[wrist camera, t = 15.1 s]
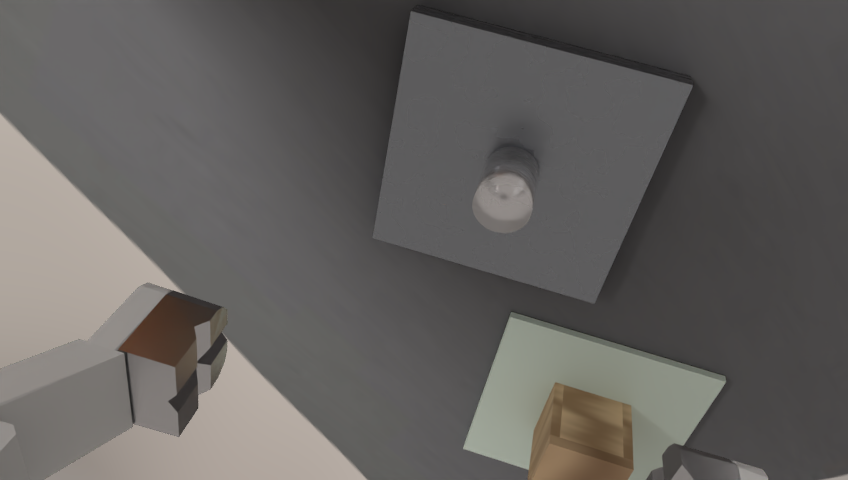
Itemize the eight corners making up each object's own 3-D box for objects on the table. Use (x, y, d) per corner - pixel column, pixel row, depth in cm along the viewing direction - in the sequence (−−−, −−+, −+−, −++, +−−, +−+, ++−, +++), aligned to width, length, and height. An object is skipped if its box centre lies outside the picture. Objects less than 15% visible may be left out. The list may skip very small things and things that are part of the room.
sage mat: (464, 443, 57) (463, 448, 57) (511, 311, 48) (510, 316, 48) (641, 500, 56) (641, 506, 55) (725, 376, 47) (726, 382, 46)
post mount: (378, 227, 47) (351, 275, 42) (417, 4, 37) (388, 33, 33) (594, 290, 45) (593, 348, 40) (690, 76, 36) (703, 117, 31)
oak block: (533, 430, 53) (526, 492, 49) (555, 382, 50) (549, 443, 45) (604, 452, 53) (604, 517, 48) (631, 405, 49) (633, 470, 45)
